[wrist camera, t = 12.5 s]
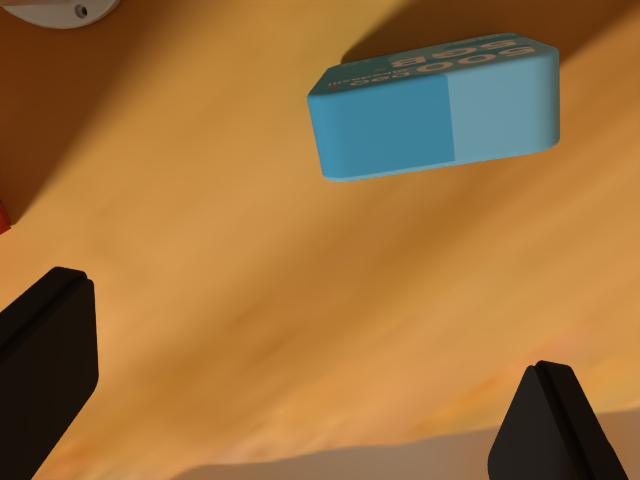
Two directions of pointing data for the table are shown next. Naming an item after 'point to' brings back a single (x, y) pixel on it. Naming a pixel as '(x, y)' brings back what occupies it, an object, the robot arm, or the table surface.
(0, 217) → the file binder
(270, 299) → the table surface
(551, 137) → the data package
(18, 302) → the robot arm
